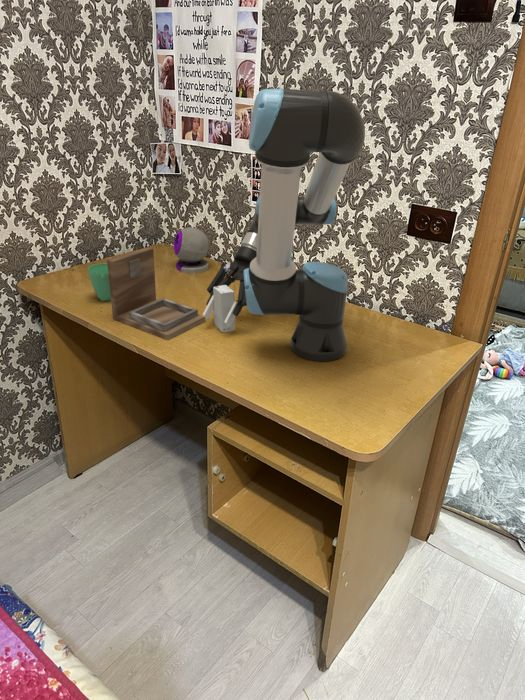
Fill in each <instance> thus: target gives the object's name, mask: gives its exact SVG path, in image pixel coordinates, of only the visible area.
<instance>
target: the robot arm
mask: <svg viewBox="0 0 525 700" xmlns="http://www.w3.org/2000/svg"><path fill="white" fill-rule="evenodd" d="M250 118H251V119H250V126H249V135H248V148H249V149H250V150H251V151H253V152H255V153H254V154H255V155H254V158H255V160H256V161H257V163H258V164H259V165H261V171H260V172H261V173H260V174H261V175H260V186H259V187H260V188H259V195H258V197H257V198H256V199H257V200H256V202H255V209H254V215H253V219H252V222H251V224H250V226H249V228H248V230H247V232H246V233H245V235H244V237H243V239H242V241H241V243H240V246H239V247H238V249H237V250H236V253H235V255H234V257H233V261H232V262H230V264H229V263H228V264H227V263H225V262H221V264H220V268H219V270H218V271H217V273H216V274H215V276H214V278H213V279H212V280H211V282H210V283H209V285H208V287H207V289H206V292H208V293H209V297H208V299H207V302H206V307H205V309H204V311H203V313H202V316H204V317H205V319H207V320H210V318H211V316H212V315H213V313H214V298H213V287H215V286H221V285H227V286H228V287H230V286H231V284H233V283H235V281H238V282H239V287H238V295H237V299H236V301H234V303H233V305H232V307H231V309H230V311H229V313H228V315H227V317H226V319H225V321H224V323H225V324H227V325H228V326H231V324H232V322H233V320H234V318H236V317H238V316H239V315H240V313H241V311H242V309H243V308H244V307H246V308H247V311H248V312H249V313H251V314H252V315H261V316H266V315H267V316H269V315H275V316H276V315H279V316H280V315H283V316H284V315H285V316H286V315H287V316H289V315H291V316H293V315H296V316H299V318H298V322H297V325H296V326H295V328H294V331H293V333H292V335H291V338H290V350H291V351H292V352H293V353H294V354H295V355H297V356H298V357H300V358H303V359H306V360H309V361H315V362H331V360H332V361H336V360H339V359H341V358H342V357H344V356H345V355H344V354H346V353H345V352H347V343H348V342H347V339H346V334H345V330H344V325H343V324H344V315H345V308H346V300H347V293H348V281H349V280H348V279H349V278H348V275H347V273H346V272H345V271H344V270H343V269H342V268H340V267H338V266H336V265H333V264H331V263H327V262H322V261H321V262H320V261H310V262H305V263H304V264H303V266H302V269H297V265H296V263H295V262H294V261H293V259H292V257H293V256H292V255H293V246H294V237H295V228H296V225H311V226H312V225H313V226H314V225H315V226H316V225H317V226H323V225H325V226H326V225H331V224H333V223H335V219H336V216H337V201H336V199H335V198H336V195H337V194H338V191H339V189H340V186H341V185H342V182H343V181H344V178H345V175H346V173H347V171H348V169H349V166H350V165H351V163H353V162H354V161H355V160H357V158H358V157H359V156H360V154H361V151H362V149H363V148H364V143H365V141H366V128H365V123H364V119H363V117H362V114H361V113H360V111H359V109H358V108H357V106H356V105H355V104H354V103H353V102H352V100H350V98H348V97H347V96H345V95H344V94H341V93H340V92H338V91H337V92H336V91H332V90H313V89H312V90H308V89H294V88H283V87H279V88H264V89H262V90H261V89H260V91H258V93H257V95H256V96H255V99H254V102H253V107H252V112H251V117H250ZM311 153H318V154H317V159H316V162H315V164H314V167H313V171H312V174H311V177H310V180H309V182H308V184H307V189H306V192H305V194H304V196H300V195H299V190H300V182H301V181H300V180H301V172H302V168H304V167H305V166H307V165H308V164H309V162H310V158H311V156H310V155H311ZM343 355H344V356H343ZM340 357H341V358H340ZM338 358H339V359H338Z"/></svg>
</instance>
